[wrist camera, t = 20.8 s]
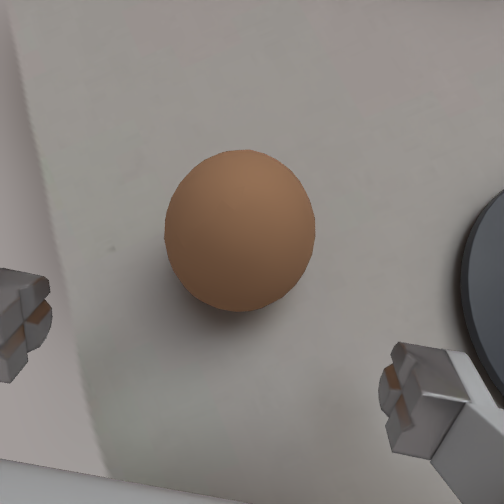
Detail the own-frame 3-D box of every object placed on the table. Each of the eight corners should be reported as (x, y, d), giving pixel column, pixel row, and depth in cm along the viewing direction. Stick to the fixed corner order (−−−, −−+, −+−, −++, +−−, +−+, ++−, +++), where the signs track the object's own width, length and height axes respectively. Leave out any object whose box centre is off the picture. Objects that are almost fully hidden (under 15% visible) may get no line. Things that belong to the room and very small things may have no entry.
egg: (310, 302, 18) (375, 252, 10) (194, 337, 17) (170, 312, 9) (273, 196, 19) (307, 81, 11) (165, 224, 18) (122, 122, 11)
